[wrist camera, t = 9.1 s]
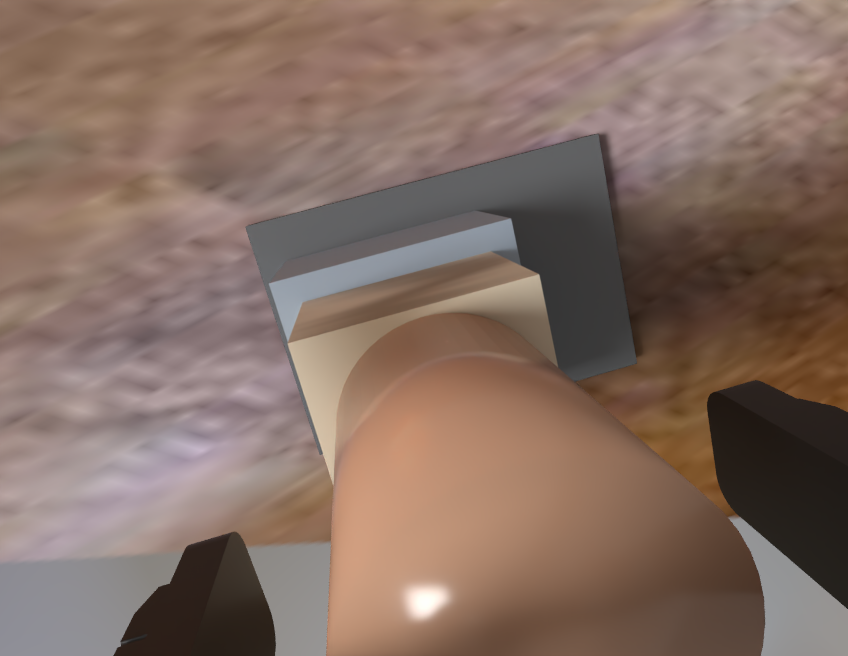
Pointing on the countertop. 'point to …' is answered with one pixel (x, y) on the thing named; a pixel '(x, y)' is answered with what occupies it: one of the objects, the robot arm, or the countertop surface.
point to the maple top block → (398, 304)
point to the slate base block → (389, 258)
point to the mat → (534, 233)
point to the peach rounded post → (516, 515)
